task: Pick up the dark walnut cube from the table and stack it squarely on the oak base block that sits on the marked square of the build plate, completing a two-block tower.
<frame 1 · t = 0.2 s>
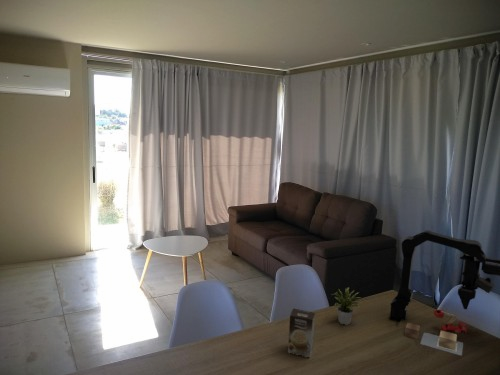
hand: (466, 305, 163), 14 cm above the table, fingers open, 9 cm apart
oak base block: (447, 344, 156), point 1 cm above the table, touching build plate
coffee box: (300, 352, 150), on the table
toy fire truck: (449, 332, 168), on the table
build plate: (441, 345, 157), on the table
walnut cube: (411, 337, 163), on the table
house plant: (343, 323, 174), on the table
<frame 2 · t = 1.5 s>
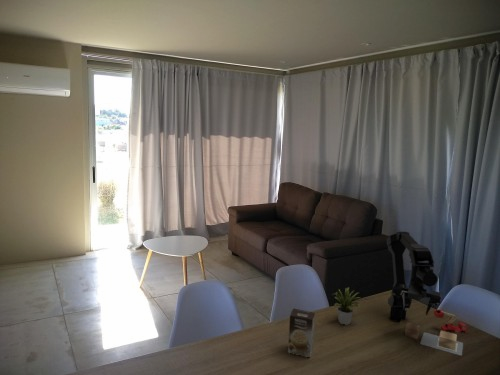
hand: (414, 311, 162), 12 cm above the table, fingers open, 9 cm apart
nothing on the table moved.
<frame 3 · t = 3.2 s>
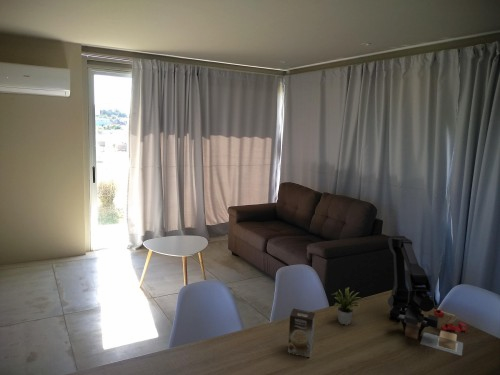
hand: (412, 334, 163), 1 cm above the table, fingers closed on walnut cube, 5 cm apart
walnut cube: (411, 337, 163), on the table, touching gripper
everything else where it was.
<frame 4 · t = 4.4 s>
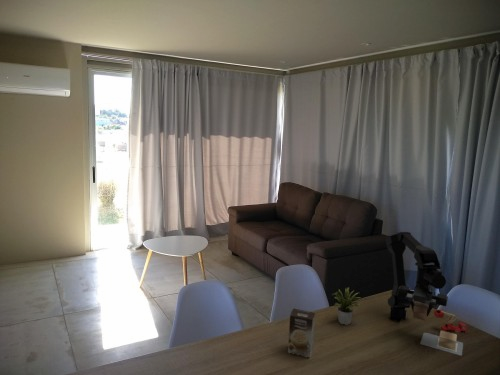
hand: (420, 314, 160), 11 cm above the table, fingers closed on walnut cube, 5 cm apart
walnut cube: (420, 316, 160), point 10 cm above the table, touching gripper
everything else where it was.
when the fingers open (7 cm above the table, at t = 6.1 s): walnut cube drops 1 cm, resting on oak base block.
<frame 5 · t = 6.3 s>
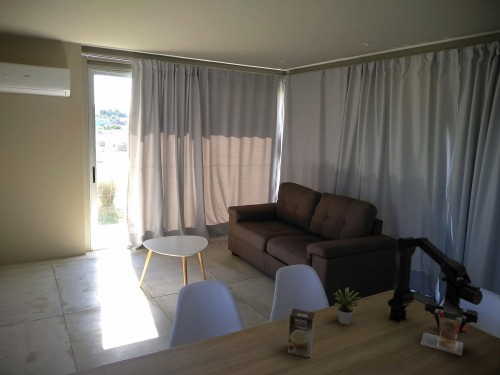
hand: (448, 330, 155), 7 cm above the table, fingers open, 7 cm apart
oak base block: (447, 344, 156), point 1 cm above the table, touching build plate, walnut cube
walnut cube: (448, 335, 156), point 5 cm above the table, touching oak base block
everything else where it was.
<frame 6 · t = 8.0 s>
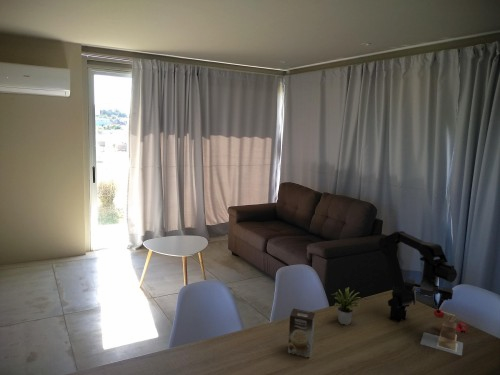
hand: (425, 307, 165), 12 cm above the table, fingers open, 9 cm apart
nothing on the table moved.
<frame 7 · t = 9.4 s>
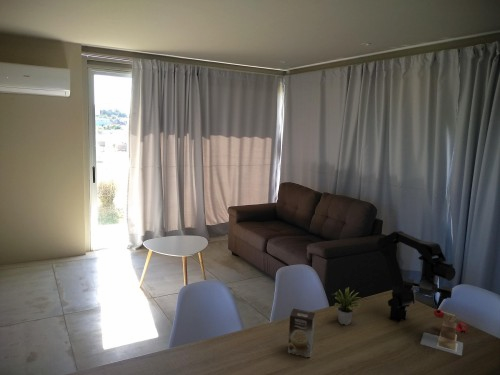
hand: (425, 306, 165), 13 cm above the table, fingers open, 9 cm apart
nothing on the table moved.
at the end: walnut cube 0.1 cm off-centre on the oak base block, point 4.0 cm above the oak base block's base; walnut cube tilted 0°; the gripper is holding nothing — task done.
